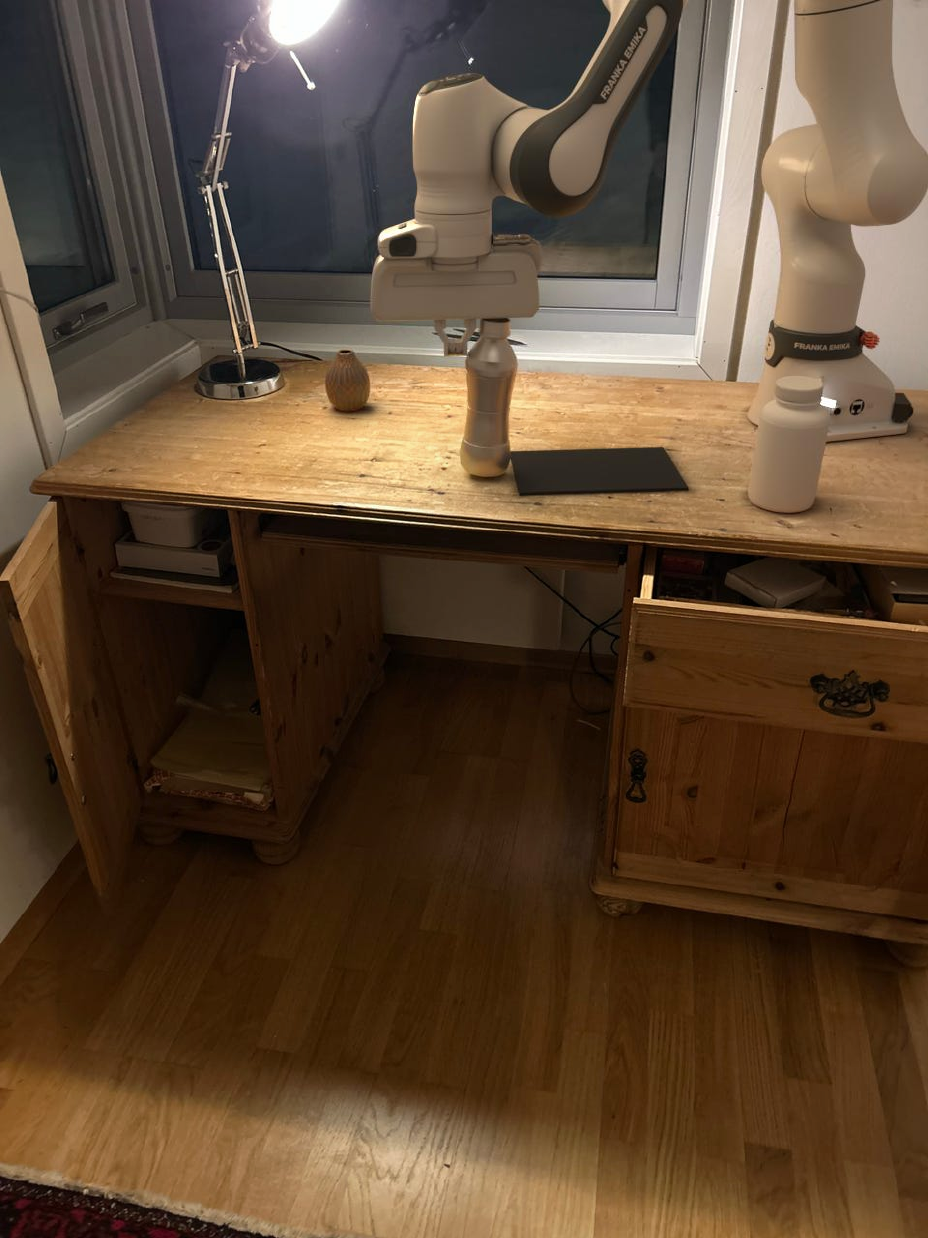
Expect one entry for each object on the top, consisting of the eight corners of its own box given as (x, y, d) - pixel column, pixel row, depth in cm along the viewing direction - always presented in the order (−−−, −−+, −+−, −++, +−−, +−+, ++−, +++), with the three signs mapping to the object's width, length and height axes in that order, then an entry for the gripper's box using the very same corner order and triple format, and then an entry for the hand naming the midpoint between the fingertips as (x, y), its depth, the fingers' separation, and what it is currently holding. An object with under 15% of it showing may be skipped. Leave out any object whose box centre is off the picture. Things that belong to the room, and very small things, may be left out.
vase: (320, 413, 147) (315, 356, 143) (336, 398, 153) (331, 343, 148) (363, 416, 146) (359, 359, 141) (377, 401, 151) (374, 346, 147)
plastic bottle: (504, 485, 123) (519, 328, 113) (453, 478, 124) (463, 322, 114) (512, 467, 128) (527, 316, 118) (463, 460, 129) (473, 309, 119)
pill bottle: (734, 501, 118) (752, 382, 110) (768, 482, 123) (787, 367, 115) (792, 520, 114) (815, 397, 106) (825, 500, 118) (850, 381, 110)
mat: (662, 449, 133) (663, 446, 133) (688, 490, 121) (688, 487, 121) (509, 453, 132) (509, 451, 132) (519, 495, 120) (519, 492, 120)
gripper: (539, 228, 114) (536, 345, 121) (367, 232, 113) (374, 349, 120) (546, 238, 108) (542, 360, 116) (365, 242, 107) (372, 364, 115)
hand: (455, 354), depth 118 cm, fingers closed
